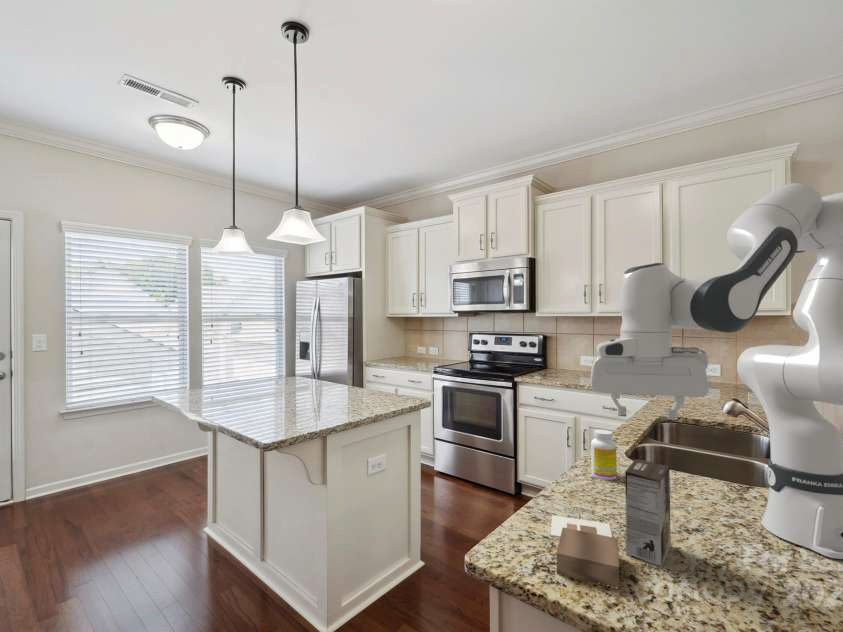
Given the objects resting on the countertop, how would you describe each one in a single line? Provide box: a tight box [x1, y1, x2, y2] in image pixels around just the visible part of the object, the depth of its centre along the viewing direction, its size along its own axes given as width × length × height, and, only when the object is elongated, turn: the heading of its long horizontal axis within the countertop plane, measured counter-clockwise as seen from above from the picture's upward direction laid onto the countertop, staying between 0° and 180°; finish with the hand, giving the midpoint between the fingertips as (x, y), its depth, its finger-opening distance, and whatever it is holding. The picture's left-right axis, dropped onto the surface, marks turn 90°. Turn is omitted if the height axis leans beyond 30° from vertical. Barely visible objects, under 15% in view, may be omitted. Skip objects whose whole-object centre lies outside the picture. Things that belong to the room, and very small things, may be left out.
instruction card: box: [550, 515, 613, 538], centre depth 88 cm, size 12×9×1 cm
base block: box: [556, 527, 620, 589], centre depth 75 cm, size 10×10×4 cm
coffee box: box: [624, 458, 671, 567], centre depth 80 cm, size 9×6×16 cm
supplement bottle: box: [590, 429, 618, 481], centre depth 118 cm, size 7×7×13 cm
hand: (646, 417), depth 80 cm, fingers open, 7 cm apart
